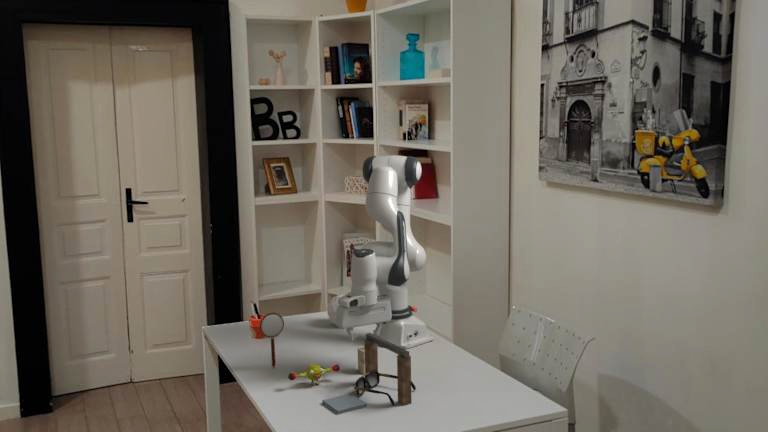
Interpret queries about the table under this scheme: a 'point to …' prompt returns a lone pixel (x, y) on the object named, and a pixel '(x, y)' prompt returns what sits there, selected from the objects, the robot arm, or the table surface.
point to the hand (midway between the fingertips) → (364, 337)
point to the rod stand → (402, 371)
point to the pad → (344, 403)
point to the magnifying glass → (272, 329)
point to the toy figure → (314, 373)
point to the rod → (387, 345)
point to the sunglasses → (373, 383)
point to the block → (361, 360)
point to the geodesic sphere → (333, 308)
